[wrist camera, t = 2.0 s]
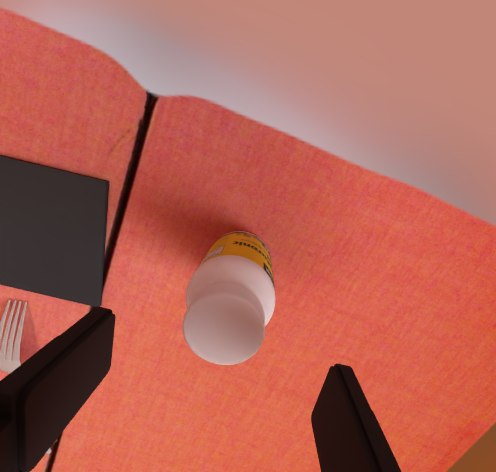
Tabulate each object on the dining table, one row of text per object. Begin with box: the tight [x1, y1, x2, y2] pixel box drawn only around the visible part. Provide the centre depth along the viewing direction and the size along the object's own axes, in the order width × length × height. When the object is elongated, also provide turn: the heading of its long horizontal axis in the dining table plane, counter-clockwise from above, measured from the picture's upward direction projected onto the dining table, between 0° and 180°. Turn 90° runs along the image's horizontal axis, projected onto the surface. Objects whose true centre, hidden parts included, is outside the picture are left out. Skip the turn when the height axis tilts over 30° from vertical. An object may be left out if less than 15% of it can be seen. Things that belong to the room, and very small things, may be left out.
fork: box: [0, 299, 51, 454], centre depth 26 cm, size 3×21×3 cm, turn 174°
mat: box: [0, 155, 109, 307], centre depth 21 cm, size 12×12×1 cm
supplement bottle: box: [183, 231, 275, 365], centre depth 16 cm, size 5×5×10 cm
